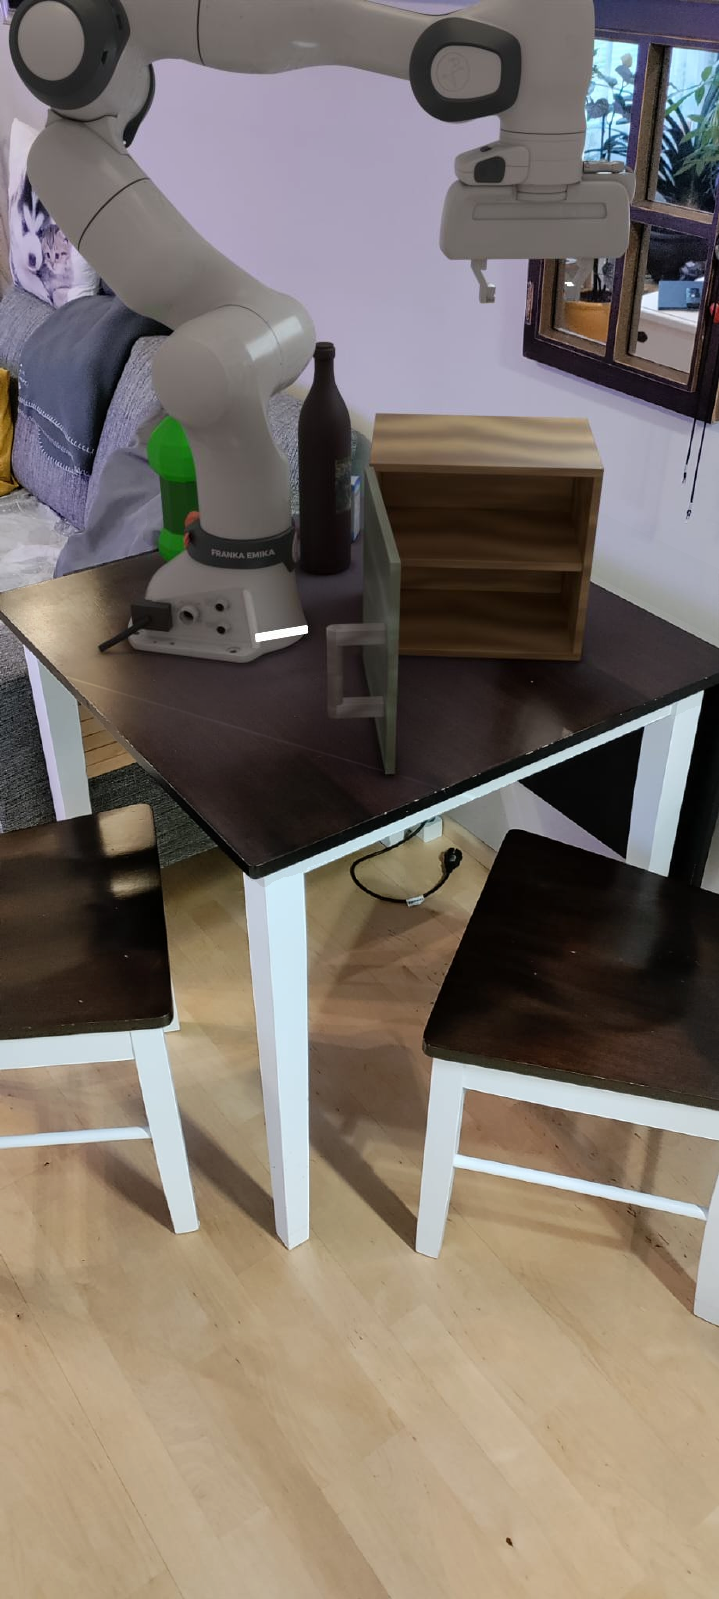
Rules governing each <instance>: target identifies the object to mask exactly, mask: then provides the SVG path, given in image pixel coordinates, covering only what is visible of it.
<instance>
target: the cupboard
mask: <svg viewBox="0 0 719 1599" xmlns="http://www.w3.org/2000/svg"><path fill="white" fill-rule="evenodd" d="M595 440H596V439H595V437H594V434H593V430H592V427H591V425H590V422H589V419H588V417H559V416H558V417H557V416H556V417H555V416H513V415H512V416H511V415H473V414H472V415H468V414H431V413H430V414H427V413H426V414H425V413H389V412H388V413H384V412H376V413H375V416H374V424H373V432H372V438H371V446H370V455H369V461H368V467H373V468H374V471H375V475H376V478H377V481H378V485H379V488H380V492H381V495H382V499H383V502H384V506H385V509H386V513H387V516H388V520H389V523H390V527H391V530H392V534H393V537H394V540H395V544H396V547H397V551H398V554H399V558H400V561H401V579H400V614H399V648H398V656H418V657H419V656H420V657H421V656H423V657H449V658H450V657H451V658H454V657H455V658H480V659H481V658H483V659H484V658H485V659H486V658H487V659H517V660H518V659H519V660H520V659H521V660H547V661H548V660H549V661H550V660H551V661H581V657H582V650H583V649H582V648H583V640H584V635H585V634H584V633H585V625H586V617H587V610H588V601H589V594H590V593H589V591H590V585H591V578H592V571H593V570H592V569H593V561H594V552H595V545H596V539H597V538H596V537H597V530H598V522H599V521H598V520H599V513H600V506H601V499H602V490H603V481H604V472H605V468H604V465H603V462H602V459H601V456H600V452H599V449H598V446H597V443H596V441H595Z"/></svg>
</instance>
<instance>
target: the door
mask: <svg viewBox="0 0 719 1599" xmlns="http://www.w3.org/2000/svg"><path fill="white" fill-rule="evenodd" d="M363 470H364V472H363V474H364V475H363V482H364V483H363V556H362V558H363V559H362V560H363V563H362V565H363V568H362V569H363V570H362V576H363V577H362V623H338V624H335V623H334V624H329V625H328V626H326V680H327V682H326V685H327V686H326V688H327V690H326V691H327V695H326V696H327V698H326V699H327V702H326V703H327V717H328V718H329V719H333V720H336V719H337V720H338V719H339V720H340V719H359V718H360V719H361V718H364V719H365V718H374V723H375V728H376V734H377V738H378V739H377V740H378V744H379V748H380V749H379V750H380V754H381V758H382V765H383V769H384V774H385V775H396V750H397V747H396V746H397V715H398V714H397V712H398V680H399V655H398V648H399V614H400V579H401V561H400V558H399V554H398V551H397V547H396V544H395V540H394V537H393V534H392V530H391V527H390V523H389V520H388V516H387V513H386V509H385V506H384V502H383V499H382V495H381V492H380V488H379V485H378V481H377V478H376V475H375V471H374V468H373V467H369V466H364V468H363ZM344 646H362V661H363V666H364V671H365V676H366V677H365V678H366V682H367V686H368V691H369V696H354V697H353V696H351V697H349V696H348V697H344Z"/></svg>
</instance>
